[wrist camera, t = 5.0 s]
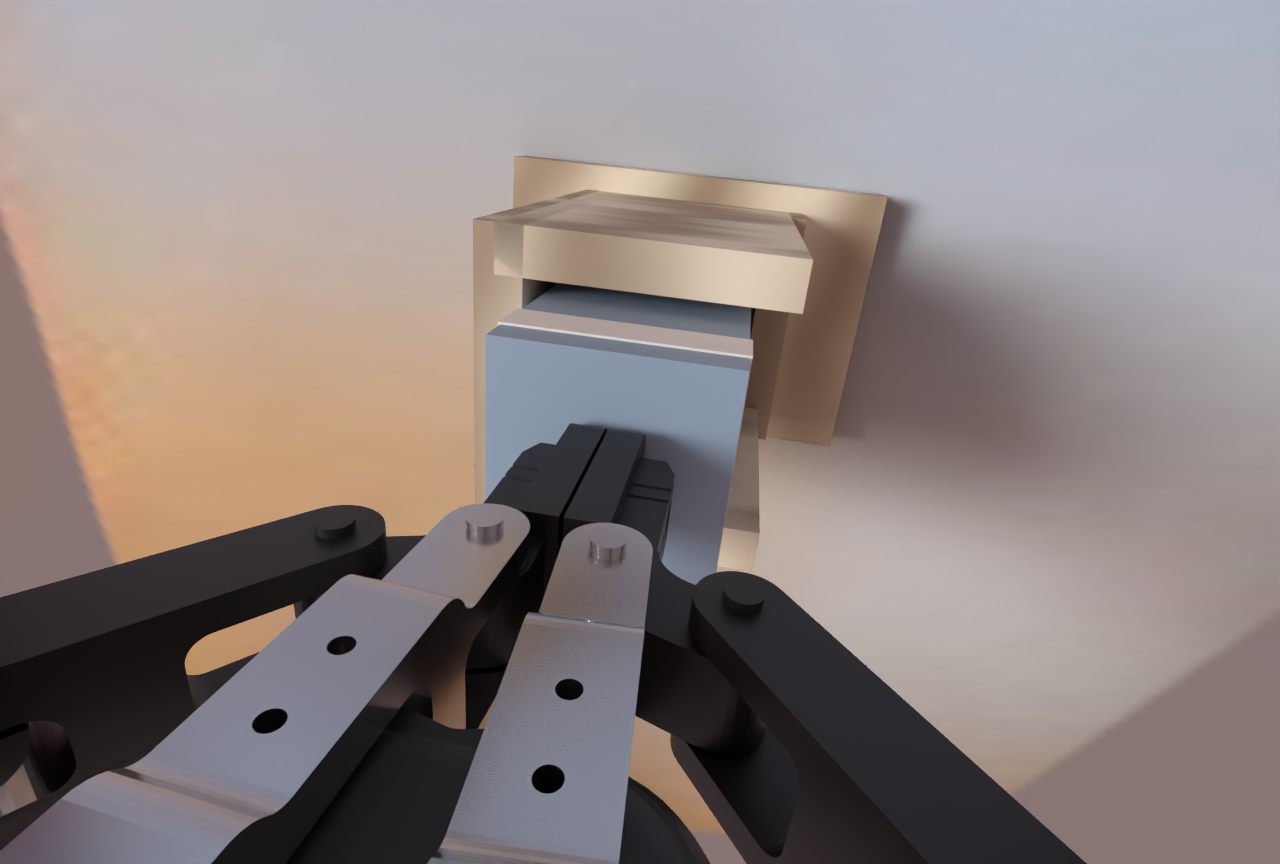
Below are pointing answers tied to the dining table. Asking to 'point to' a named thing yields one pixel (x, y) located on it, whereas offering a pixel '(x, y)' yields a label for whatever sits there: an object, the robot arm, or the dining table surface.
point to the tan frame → (695, 285)
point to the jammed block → (628, 394)
